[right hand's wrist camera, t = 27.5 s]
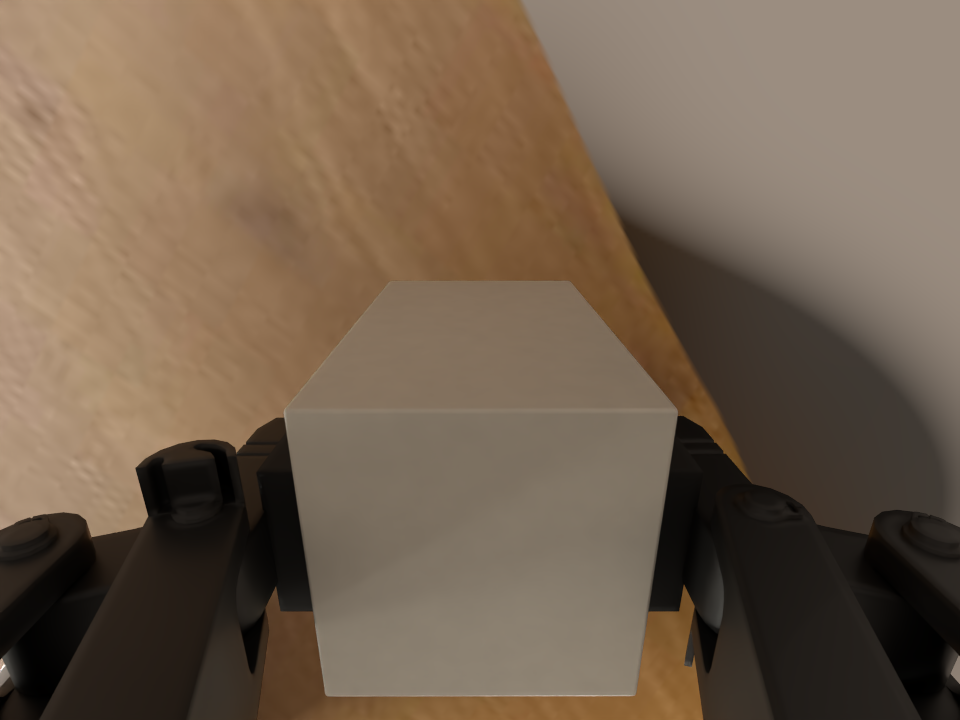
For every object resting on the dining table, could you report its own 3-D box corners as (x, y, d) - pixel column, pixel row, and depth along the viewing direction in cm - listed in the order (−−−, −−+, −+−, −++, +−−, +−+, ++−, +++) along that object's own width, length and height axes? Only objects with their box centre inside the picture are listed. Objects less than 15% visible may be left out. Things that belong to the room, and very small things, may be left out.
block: (570, 280, 15) (680, 409, 7) (560, 443, 16) (636, 698, 8) (389, 280, 15) (280, 409, 7) (399, 443, 16) (324, 698, 8)
